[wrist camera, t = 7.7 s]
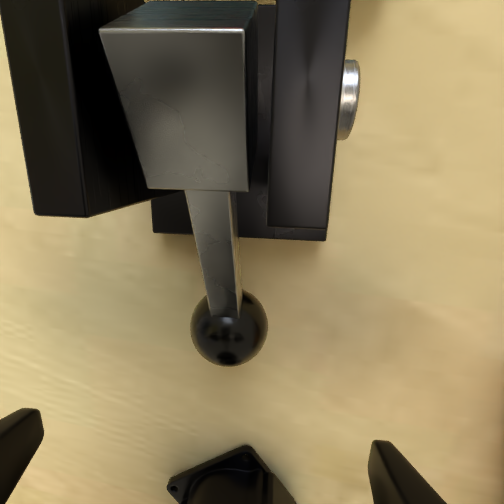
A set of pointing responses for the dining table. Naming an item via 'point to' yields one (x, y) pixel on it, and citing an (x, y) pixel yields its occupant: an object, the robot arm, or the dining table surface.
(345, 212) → the dining table surface
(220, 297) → the lever handle
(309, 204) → the lever bracket
